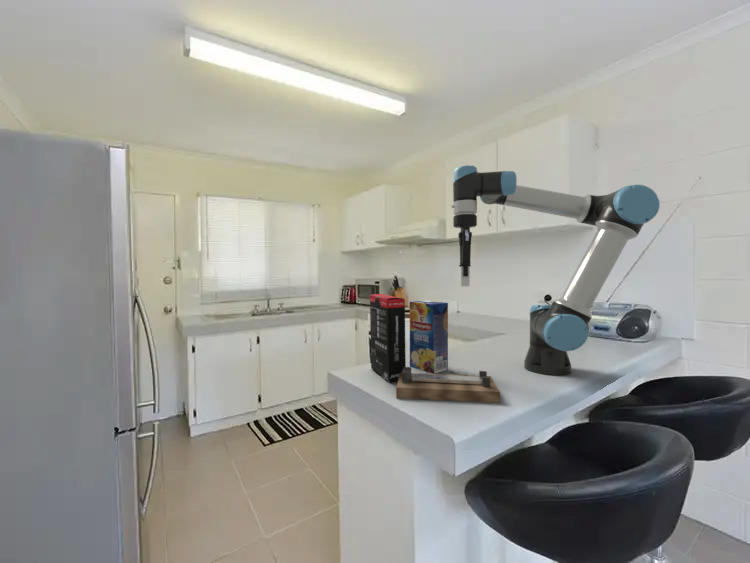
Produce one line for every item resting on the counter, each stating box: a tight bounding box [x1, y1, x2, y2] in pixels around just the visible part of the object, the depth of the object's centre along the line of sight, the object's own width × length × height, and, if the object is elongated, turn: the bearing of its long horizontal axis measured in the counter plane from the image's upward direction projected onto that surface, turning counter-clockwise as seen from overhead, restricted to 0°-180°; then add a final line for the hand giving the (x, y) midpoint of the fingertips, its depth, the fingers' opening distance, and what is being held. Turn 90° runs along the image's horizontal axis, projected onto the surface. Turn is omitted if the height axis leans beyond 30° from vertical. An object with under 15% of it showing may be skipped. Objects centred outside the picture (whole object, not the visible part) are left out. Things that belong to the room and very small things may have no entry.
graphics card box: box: [369, 293, 407, 383], centre depth 120 cm, size 17×7×27 cm, turn 21°
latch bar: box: [412, 373, 482, 385], centre depth 104 cm, size 21×4×1 cm, turn 82°
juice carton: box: [409, 300, 449, 374], centre depth 128 cm, size 12×8×24 cm, turn 38°
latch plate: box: [395, 366, 501, 404], centre depth 104 cm, size 28×14×6 cm, turn 82°
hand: (465, 286), depth 118 cm, fingers closed
